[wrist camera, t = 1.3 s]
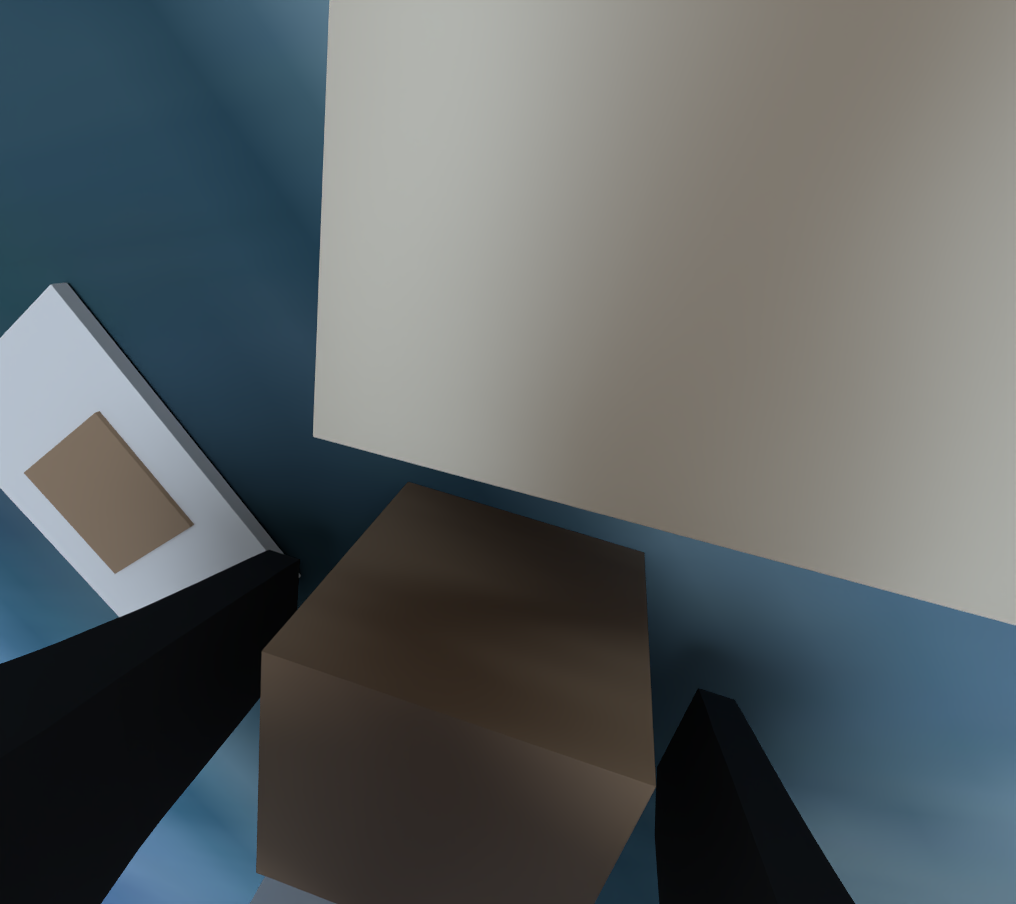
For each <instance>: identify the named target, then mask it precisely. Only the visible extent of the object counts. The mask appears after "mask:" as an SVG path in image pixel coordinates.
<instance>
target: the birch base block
mask: <svg viewBox="0 0 1016 904" xmlns="http://www.w3.org/2000/svg"><path fill="white" fill-rule="evenodd" d="M313 437H316V438H320V439H323V440H327V441H331V442H335V443H338V444H342V445H346V446H349V447H353V448H357V449H361V450H364V451H368V452H372V453H376V454H379V455H383V456H387V457H390V458H394V459H398V460H402V461H405V462H409V463H413V464H417V465H420V466H424V467H428V468H431V469H435V470H439V471H443V472H446V473H450V474H454V475H458V476H461V477H465V478H469V479H472V480H476V481H480V482H484V483H487V484H491V485H495V486H499V487H502V488H506V489H510V490H513V491H517V492H521V493H525V494H528V495H532V496H536V497H539V498H543V499H547V500H551V501H554V502H558V503H562V504H566V505H569V506H573V507H577V508H580V509H584V510H588V511H592V512H595V513H599V514H603V515H607V516H610V517H614V518H618V519H621V520H625V521H629V522H633V523H636V524H640V525H644V526H648V527H651V528H655V529H659V530H662V531H666V532H670V533H674V534H677V535H681V536H685V537H689V538H692V539H696V540H700V541H703V542H707V543H711V544H715V545H718V546H722V547H726V548H730V549H733V550H737V551H741V552H744V553H748V554H752V555H756V556H759V557H763V558H767V559H770V560H774V561H778V562H782V563H785V564H789V565H793V566H797V567H800V568H804V569H808V570H811V571H815V572H819V573H823V574H826V575H830V576H834V577H838V578H841V579H845V580H849V581H852V582H856V583H860V584H864V585H867V586H871V587H875V588H879V589H882V590H886V591H890V592H893V593H897V594H901V595H905V596H908V597H912V598H916V599H920V600H923V601H927V602H931V603H934V604H938V605H942V606H946V607H949V608H953V609H957V610H961V611H964V612H968V613H972V614H975V615H979V616H983V617H987V618H990V619H994V620H998V621H1001V622H1005V623H1009V624H1013V625H1016V0H329V27H328V53H327V80H326V106H325V132H324V159H323V185H322V212H321V238H320V264H319V291H318V317H317V344H316V370H315V397H314V423H313Z"/></svg>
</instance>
